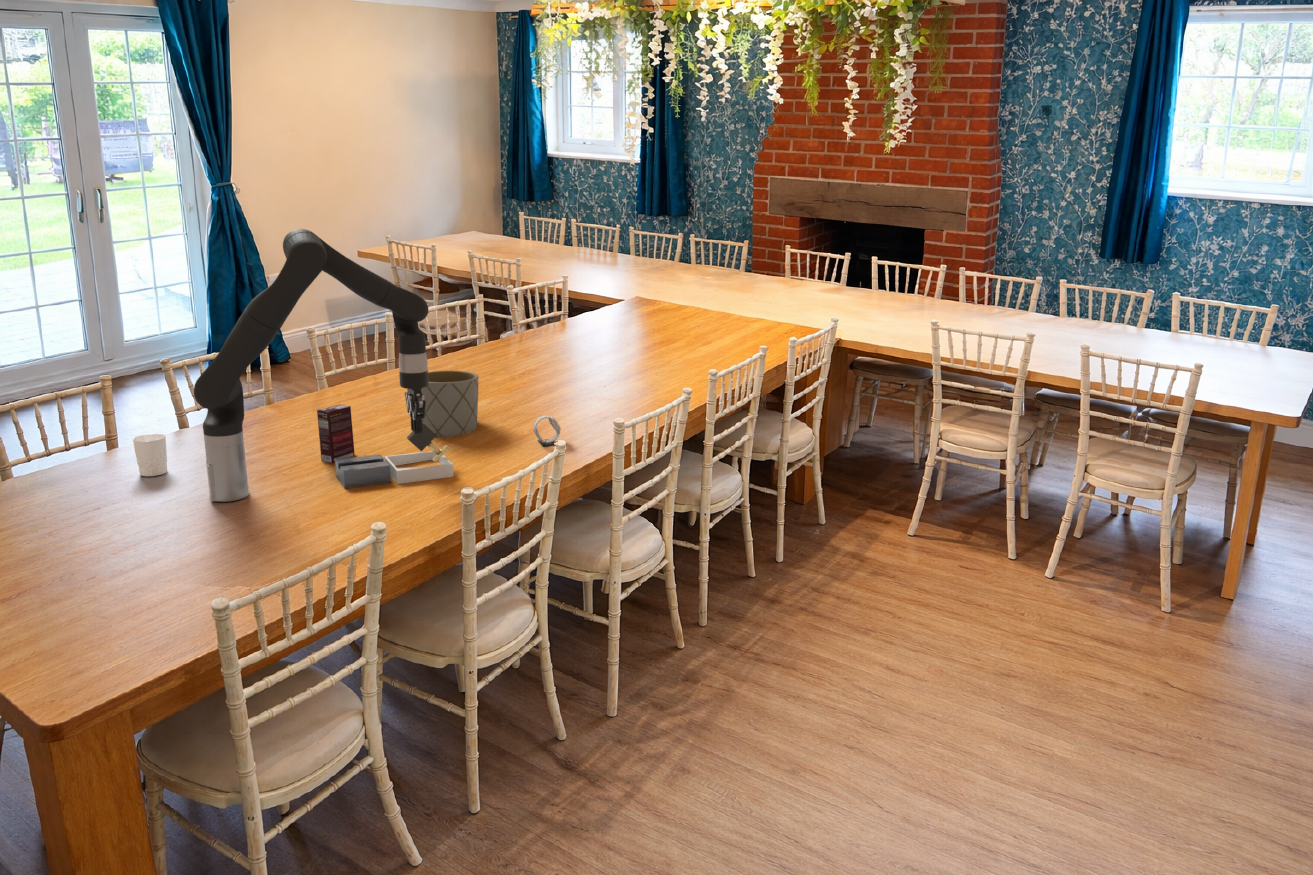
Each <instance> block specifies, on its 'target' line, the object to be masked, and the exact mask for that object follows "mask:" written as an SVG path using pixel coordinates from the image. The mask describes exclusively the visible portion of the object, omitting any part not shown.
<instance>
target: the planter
mask: <svg viewBox="0 0 1313 875" xmlns="http://www.w3.org/2000/svg"><path fill="white" fill-rule="evenodd" d="M428 383H429V384H428V386H427V387H423V388H422V389H421V391H422V394H424V400H425V401H426V405H425V417H424V418H423V419H422V422H423V423H424V424H425V425H426V426H427V427H428V428H429V429H430V430H431V431H432V432H434V433H435V434H436V435H437V436H436V437H440V438H451V437H458V436H459V437H460V436H464V435H467V434H469V433H471V432H474V431H475V430H476V429H477V427H478V410H479V409H478V408H479V375H478V373H475V372H472V371H465V370H435V371H428ZM419 414H420V413H419ZM436 437H435V438H436Z"/></svg>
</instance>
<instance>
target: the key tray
mask: <svg viewBox="0 0 1313 875" xmlns="http://www.w3.org/2000/svg"><path fill="white" fill-rule="evenodd" d="M436 455H437V454H436V453H435V452H434V451H433V450H430V451H429V450H428V451H422V452H421V451H419V452H410V453H404V454H403V453H402V454H394V455H393V454H391V455H385V456H383V458H384V461H386V462H387V463H388V464H389V465H390V475H391V479H393V480H394V481H395V483H396V484H398V485H399V484H407V483H415V482H422V481H432V480H438V479H446V478H447V479H448V478H453V477H454V476H455V475H454V463H453V462H452V461H451V460H449V459H448V458H447V457H446V455H445V454H444V455H443V456H442V457H441V458H440V459H439V460H438V461H437V462H439V463H440V464H439V465H438V464H437V465H429V466H420V467H396V466H402V465H406V464H407V465H408V464H412V463H413V464H414V463H419V462H425V461H431V460H432V459H433V458H434V457H435V456H436ZM432 461H433V460H432Z"/></svg>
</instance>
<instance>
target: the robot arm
mask: <svg viewBox="0 0 1313 875" xmlns="http://www.w3.org/2000/svg"><path fill="white" fill-rule="evenodd" d="M282 249H283V254H284V256H285V258H286V260H285V262H284V264H283V266H282V269H281V270H280V272H279V273H278V275H277V277H276V278H275V280H274V281H273V282H272V283H271V284H270V285H269V286H268V287H266V288H265V289H263V291H261V292H260V293H259V294H257V295H256V296H254V298H252V299H251V300H250V302H249V303H248V304H247V305H246V307H245V309H244V310H243V312H242V313H241V314H240V316H239V317H238V320H237V321H236V323H235V325H234V326H233V328H232V329H231V331H230V333H229V334H228V336H227V338H226V340H225V341H224V344H223V345H222V346H221V349H220V351H219V352H218V353H217V354H216V356H215V357H214V358H213V360H212V361H211V362H210V364H209V365H207V367H206V369H204V371H203V372H202V373H201V374H200V376H199V377H198V378H197V380H196V381H195V383H194V385H193V386H194V387H193V396H194V400H195V402H196V403H197V404H198V405H199V406H200V407H201V408H203V409H206V410H207V413H206V417H205V419H204V421H203V423H202V429H203V430H202V432H203V439H204V450H205V458H206V460H205V462H206V473H207V482H208V491H209V498H210V502H233V501H238V500H239V501H240V500H241V499H242V500H243V499H245V498H247V497H248V496H249V495H250V490H249V482H248V481H249V480H248V470H247V469H248V468H247V460H246V451H245V438H244V429H243V423H244V420H245V419H244V418H245V402H244V401H245V400H244V389H243V383H242V381H241V377H242V375H243V374H244V372H245V370H246V369H247V368H249V366H250V365H251V364H252V363H253V362H254V361H255V360H256V359H257V358H259V356H260V355H261V354H262V353H263V352H264V351H265V350H266V349H267V347H269V345H271V343H272V341H274V339H275V338H276V336H277V335H278V333H279V331H280V330H281V329H282V327H283V325H284V324H285V322H286V321H287V318H288V317H289V316H290V314H291V313H292V311H293V309H294V308H295V306H296V305H297V303H298V301H299V300H300V298H301V297H302V295H303V294H304V293H305V292H306V290H308V288H309V287H310V286H311V285H312V284H313V282H314V280H316V279H317V277H318V276H319V275H320V274H321V272H323V273H325V274H327V275H329V276H331V277H332V278H334V279H335V280H336V281H338V282H339V283H341V284H342V285H344V286H345V287H346V288H347V289H349V290H350V291H351V292H352V293H354V294H355V295H356V296H358V297H361V298H362V299H364V300H366V301H367V302H370V303H372V304H374V305H375V306H378V307H380V308H383V309H387V310H389V311H391V312H392V320H393V323H394V327H395V331H396V334H397V337H398V339H397V341H398V371H399V372H398V374H399V375H398V376H399V377H398V378H399V385H400V387H401V388H403V389H407V391H406V392H404V397H405V398H404V399H405V402H406V403H405V404H406V411H407V414H408V416H409V418H410V429H411V432H412V431H413V430H414V433H422V419H423V418H424V417H425V405H426V401H425V400H424V394H422V391H421V389H422V388H423V387H427V386H428V384H429V383H428V372H429V367H428V365H429V364H428V356H427V347H426V344H427V342H426V335H425V333H424V332H423V330H421V329H420V325H419V322H422V321H423V320H425V319H426V318H427V316H428V314H429V305H428V303H427V301H426V300H425V299H424V297H421V295H418V294H417V293H414V292H412V291H410V290H407V289H405V288H403V287H401V286H398V285H396V284H394V283H392V282H391V281H390V280H388V279H386V278H385V277H382V276H380V275H379V274H376V273H375V272H373V271H371V270H369V269H368V268H365V267H364V266H362V265H360V264H358V263H357V262H355V261H354V260H352V259H350V258H348V257H347V256H345V255H344V254H342V253H341V252H339V251H338V250H336V249H335V248H333V246H330V244H328V243H327V242H325V241H324V239H322V238H321V237H319V236H318V235H317V234H315V233H314V232H313V231H311V230H308V229H305V228H296V229H293V230H291V231H290V232H288V233H287V234H286V235H285V236H284V238H283V241H282ZM419 413H420V414H419Z"/></svg>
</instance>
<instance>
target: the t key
mask: <svg viewBox="0 0 1313 875" xmlns="http://www.w3.org/2000/svg"><path fill="white" fill-rule="evenodd" d="M436 436H437V435H436V434H435V433H434V432H432V431H431V430H430V429H429V428H428V427H427V426H426V425H425V424H424V423H423V422H422V433H414V430H413V431H412V430H411V432H410V433H409V434H408V435H407V437H406V440H408V441H409V442H410V443H411V444H412V445H414V446H415V447H416V448H417V449H418V450H419V452H423V451H424V449H426V448H427V447H428V449H430V451H434V452H435V453H436V454H437V455H436V456H435V457H434V458H433V459H432V461H433V462H434V463H435V464H436V463H437V462H439V461H438V460H439V459H440V458H441V457H442V456H443V455H444V456H445V454H446V453H447V452H448V451H449V449H450V447H449V446H448V445H447V444H445V445H444V446H443V447H442V448H440V447H438V446H437V445H436V444H435V443H434V442H432V441H433V440H434V439H435V438H436Z"/></svg>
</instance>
